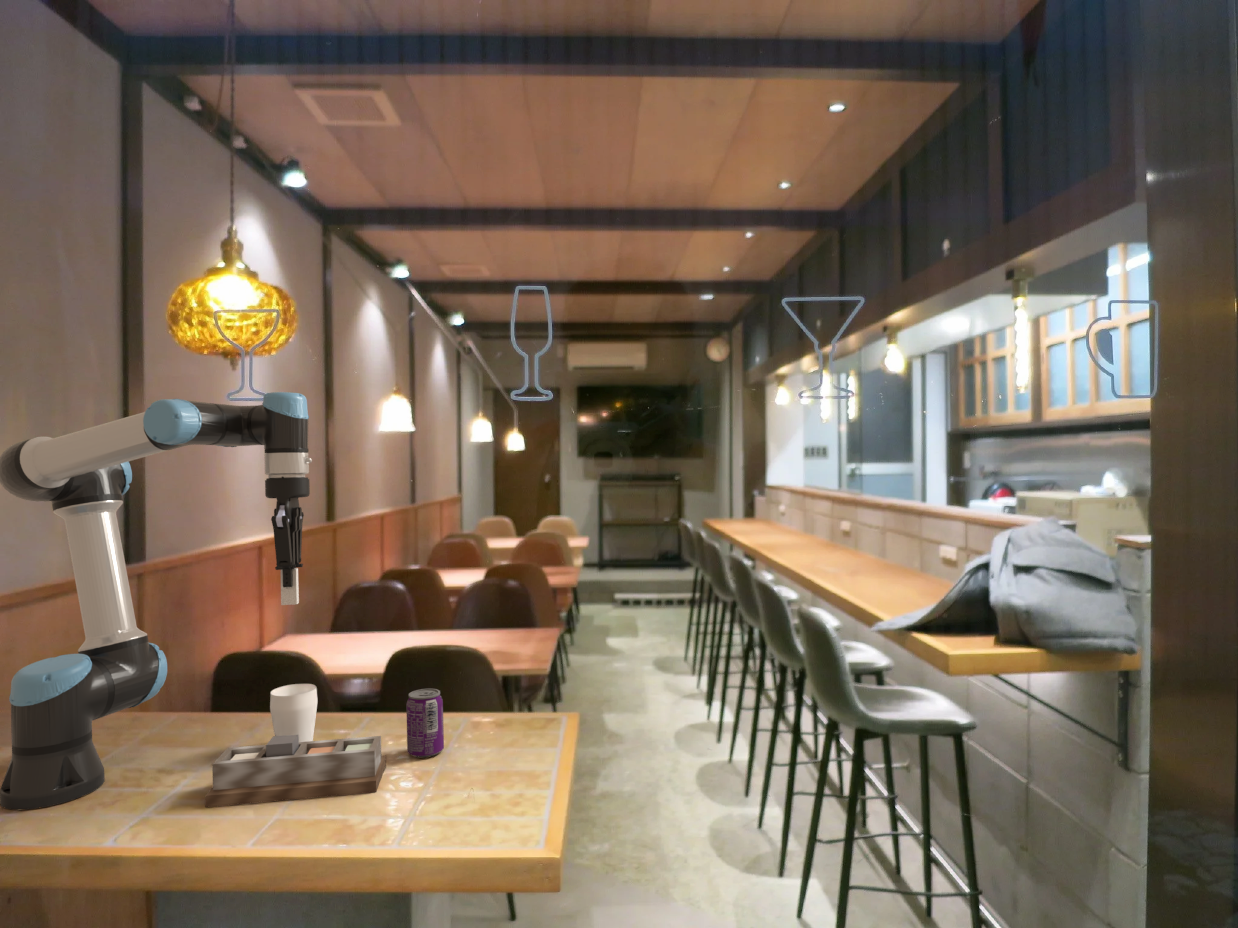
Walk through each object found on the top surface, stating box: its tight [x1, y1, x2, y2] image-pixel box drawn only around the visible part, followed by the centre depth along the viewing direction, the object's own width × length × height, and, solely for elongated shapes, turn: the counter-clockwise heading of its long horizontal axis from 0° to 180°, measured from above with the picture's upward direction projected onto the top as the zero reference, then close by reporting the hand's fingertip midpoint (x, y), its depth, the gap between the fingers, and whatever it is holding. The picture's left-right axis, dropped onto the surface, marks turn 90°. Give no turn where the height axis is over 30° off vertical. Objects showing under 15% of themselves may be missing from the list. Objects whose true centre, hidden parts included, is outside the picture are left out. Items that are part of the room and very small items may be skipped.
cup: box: [269, 683, 319, 742], centre depth 155 cm, size 9×9×12 cm
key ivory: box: [231, 753, 259, 760], centre depth 135 cm, size 4×4×3 cm
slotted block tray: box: [204, 735, 387, 808], centre depth 136 cm, size 28×12×6 cm, turn 99°
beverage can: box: [405, 688, 445, 759], centre depth 151 cm, size 7×7×12 cm
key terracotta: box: [308, 746, 335, 754], centre depth 137 cm, size 4×4×3 cm
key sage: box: [345, 743, 372, 751], centre depth 138 cm, size 4×4×3 cm
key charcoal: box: [265, 734, 299, 757], centre depth 136 cm, size 4×4×3 cm
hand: (290, 603), depth 139 cm, fingers closed
